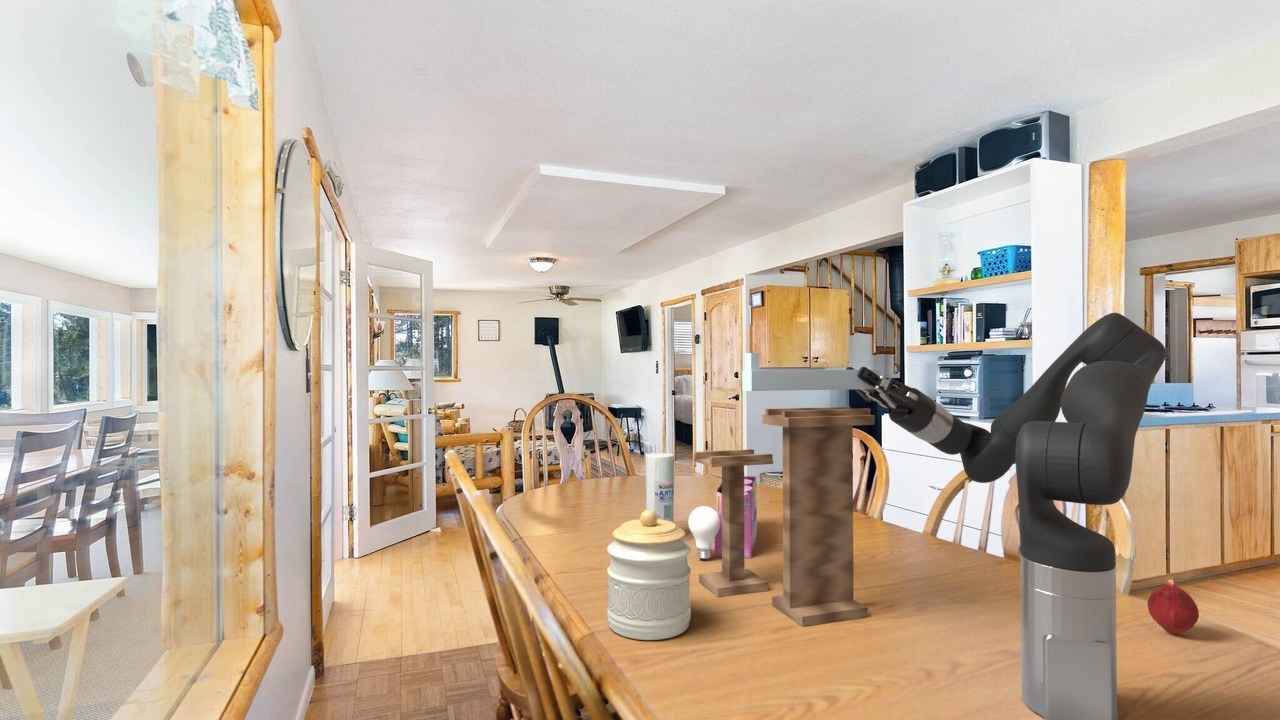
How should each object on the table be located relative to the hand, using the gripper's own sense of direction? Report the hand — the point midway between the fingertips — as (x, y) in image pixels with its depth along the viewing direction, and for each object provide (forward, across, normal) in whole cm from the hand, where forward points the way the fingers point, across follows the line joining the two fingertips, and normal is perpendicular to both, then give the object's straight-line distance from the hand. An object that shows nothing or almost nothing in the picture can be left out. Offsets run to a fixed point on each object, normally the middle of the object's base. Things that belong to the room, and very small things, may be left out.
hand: (853, 371), depth 115 cm
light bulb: (-2, -23, +44) cm, 50 cm away
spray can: (+2, -38, +46) cm, 60 cm away
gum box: (-13, -32, +38) cm, 52 cm away
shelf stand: (-8, +8, +40) cm, 42 cm away
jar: (+16, +5, +54) cm, 57 cm away
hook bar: (+6, 0, +7) cm, 9 cm away
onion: (-48, +32, +18) cm, 60 cm away
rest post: (-1, -6, +44) cm, 45 cm away
